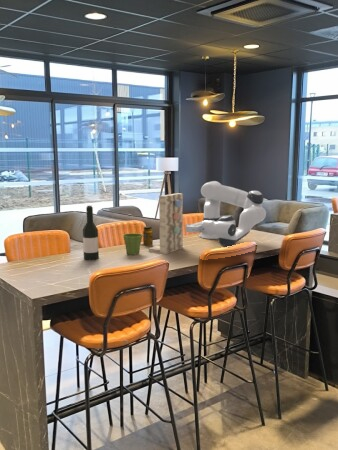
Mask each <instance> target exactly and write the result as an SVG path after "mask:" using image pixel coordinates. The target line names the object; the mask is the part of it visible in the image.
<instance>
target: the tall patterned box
mask: <svg viewBox="0 0 338 450" xmlns="http://www.w3.org/2000/svg"><path fill="white" fill-rule="evenodd" d="M183 196H184V193H179V192H177V193H170V194H164V195H159V196H158V197H159V201H158V202H159V203H158V205H159V206H158V208H159V244H158V245H154V246H151V247H149V248H148V253H157V254H164V255H167V254H169V253H172V252H175V251H177V250H180V249H183V248H184V247H183V245H184V244H183V243H184V242H183V241H184V240H183V238H184V237H183V236H184V227H183V226H184V225H183V223H184V221H183V220H184V219H183V217H184V216H183V215H184V214H183V213H184V211H183V209H184V208H183V207H184V205H183V203H184V202H183V199H184V197H183ZM176 200H181V202H182V204H181V207H176V206H175V205H173V202H175V201H176ZM174 213H179V214H180V219H179V220H174V219H173V215H174ZM175 226H179V228H180V232H179V233H178V234H176V233H174V232H173V228H174V227H175Z"/></svg>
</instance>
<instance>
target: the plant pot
mask: <svg viewBox="0 0 338 450" xmlns="http://www.w3.org/2000/svg"><path fill="white" fill-rule="evenodd" d="M122 237H123V240H124V245H125V250H126V254H127V255H130V256H134V255H139V254H140V251H141V250H140V249H141V246H140V244H142V243H141V242H142V239H143V233H135V232H134V233H125V234H122Z"/></svg>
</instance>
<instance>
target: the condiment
mask: <svg viewBox="0 0 338 450" xmlns="http://www.w3.org/2000/svg"><path fill="white" fill-rule="evenodd" d="M153 233H154V232H153V227H152V226H149V225H148V226H144V227H143V232H142V235H143V236H142V239H143V243H141V244H140V247H144V248H145V247H155V244H154V242H153V240H154V239H153V238H154V237H153V236H154V235H153Z"/></svg>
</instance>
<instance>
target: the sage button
mask: <svg viewBox="0 0 338 450" xmlns="http://www.w3.org/2000/svg"><path fill="white" fill-rule="evenodd" d="M173 232H174V233H176V234H178V233H179V232H180V228H179V226H175V227H174V228H173Z"/></svg>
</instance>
